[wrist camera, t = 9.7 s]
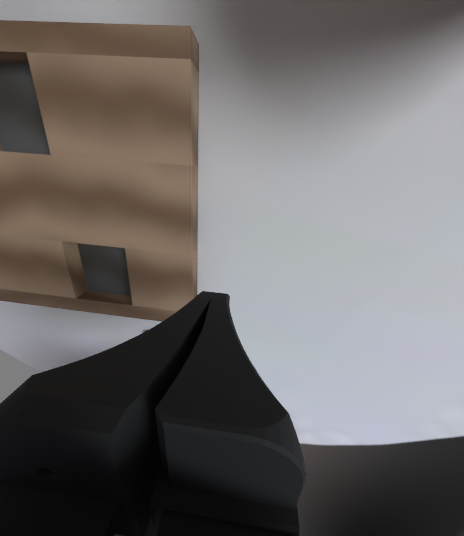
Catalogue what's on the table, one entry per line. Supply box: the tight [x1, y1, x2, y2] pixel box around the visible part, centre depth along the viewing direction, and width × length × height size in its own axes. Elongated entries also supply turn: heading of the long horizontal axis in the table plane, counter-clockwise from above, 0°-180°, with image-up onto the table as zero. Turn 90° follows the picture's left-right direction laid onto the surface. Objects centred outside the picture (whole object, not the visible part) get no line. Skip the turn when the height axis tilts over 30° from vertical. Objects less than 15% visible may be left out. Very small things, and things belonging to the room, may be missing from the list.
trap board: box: [0, 20, 199, 322], centre depth 19 cm, size 22×22×2 cm
